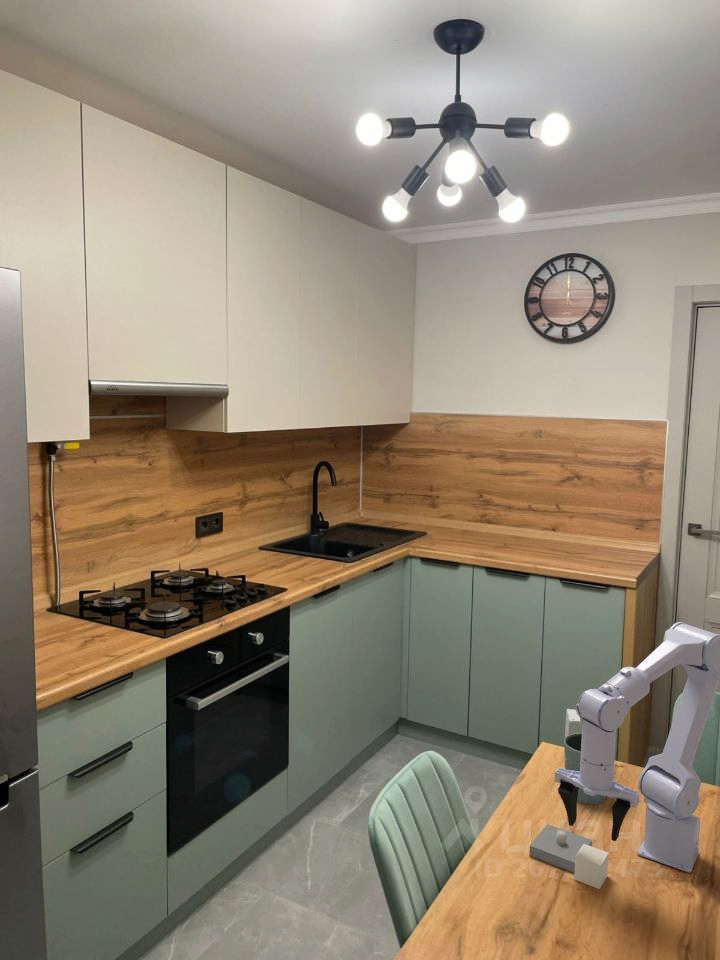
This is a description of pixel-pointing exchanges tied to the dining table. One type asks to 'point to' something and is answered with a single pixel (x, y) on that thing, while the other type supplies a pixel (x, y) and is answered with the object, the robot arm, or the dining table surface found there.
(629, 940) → the dining table surface
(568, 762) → the teal cup
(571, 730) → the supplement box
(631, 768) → the dining table surface
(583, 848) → the cream colored cube
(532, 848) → the stud block
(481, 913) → the dining table surface
